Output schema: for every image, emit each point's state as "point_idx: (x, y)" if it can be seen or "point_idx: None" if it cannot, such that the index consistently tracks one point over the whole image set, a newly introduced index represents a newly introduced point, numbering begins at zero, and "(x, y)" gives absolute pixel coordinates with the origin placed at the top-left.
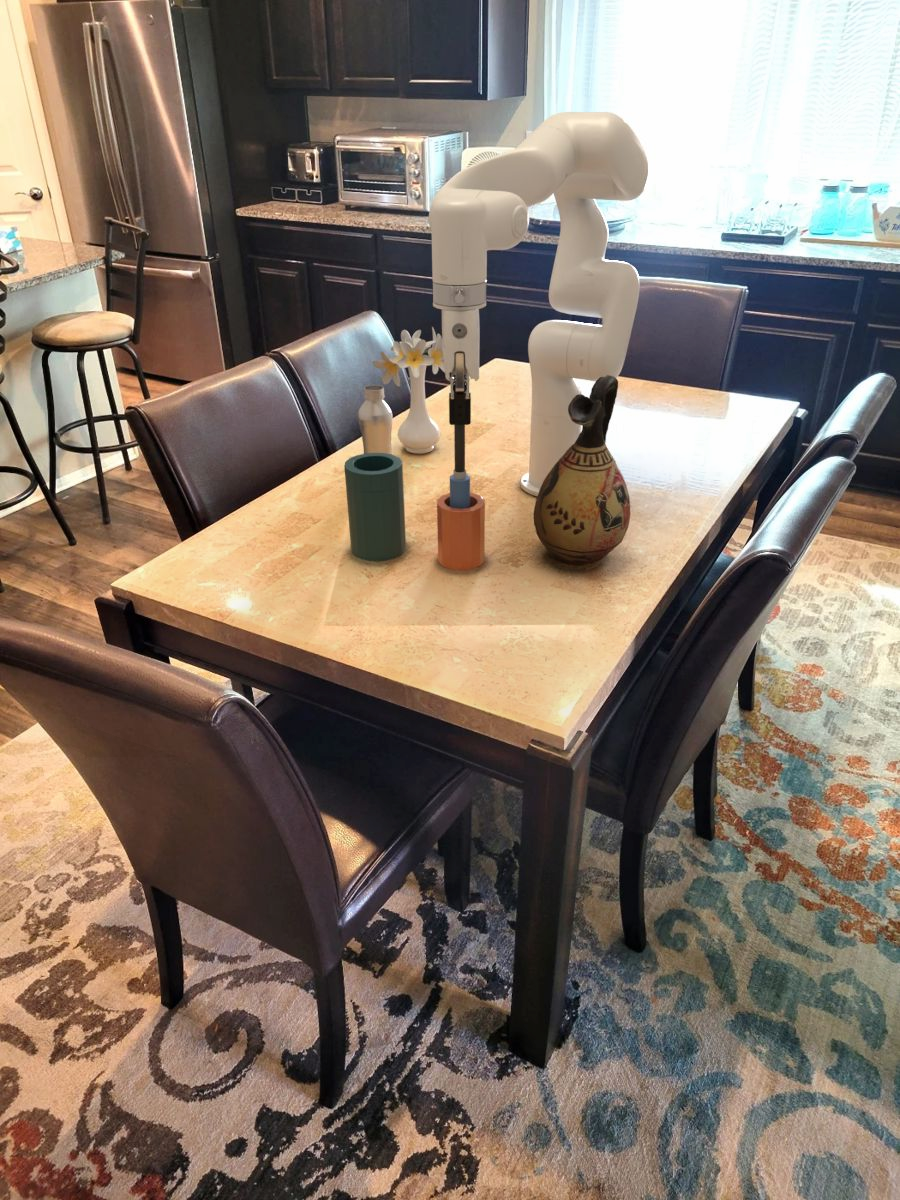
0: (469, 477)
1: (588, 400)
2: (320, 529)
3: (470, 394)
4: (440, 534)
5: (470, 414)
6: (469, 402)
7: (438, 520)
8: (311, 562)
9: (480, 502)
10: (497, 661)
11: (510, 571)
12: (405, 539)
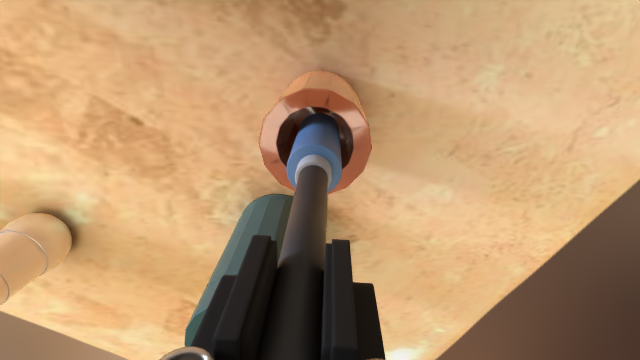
0: (318, 146)
1: None
2: None
3: (240, 336)
4: None
5: (350, 269)
6: (356, 331)
7: None
8: None
9: (322, 100)
10: (630, 73)
11: (359, 22)
12: (275, 203)
